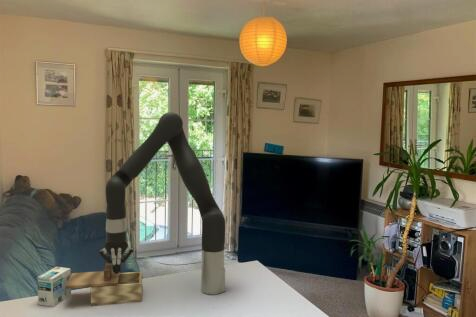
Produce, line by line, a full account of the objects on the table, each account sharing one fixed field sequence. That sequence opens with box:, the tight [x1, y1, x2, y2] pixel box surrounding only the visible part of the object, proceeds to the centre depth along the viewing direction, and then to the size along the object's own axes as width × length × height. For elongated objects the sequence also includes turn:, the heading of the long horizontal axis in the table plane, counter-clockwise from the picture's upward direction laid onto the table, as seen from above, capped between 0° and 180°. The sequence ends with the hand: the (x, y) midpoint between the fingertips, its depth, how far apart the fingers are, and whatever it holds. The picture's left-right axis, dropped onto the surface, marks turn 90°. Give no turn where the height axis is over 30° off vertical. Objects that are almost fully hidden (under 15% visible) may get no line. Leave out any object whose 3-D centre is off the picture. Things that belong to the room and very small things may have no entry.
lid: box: [65, 262, 121, 290], centre depth 141 cm, size 18×12×5 cm, turn 103°
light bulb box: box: [37, 266, 72, 307], centre depth 141 cm, size 11×7×11 cm, turn 168°
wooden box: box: [90, 271, 143, 307], centre depth 144 cm, size 18×12×7 cm, turn 103°
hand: (116, 273), depth 143 cm, fingers closed
